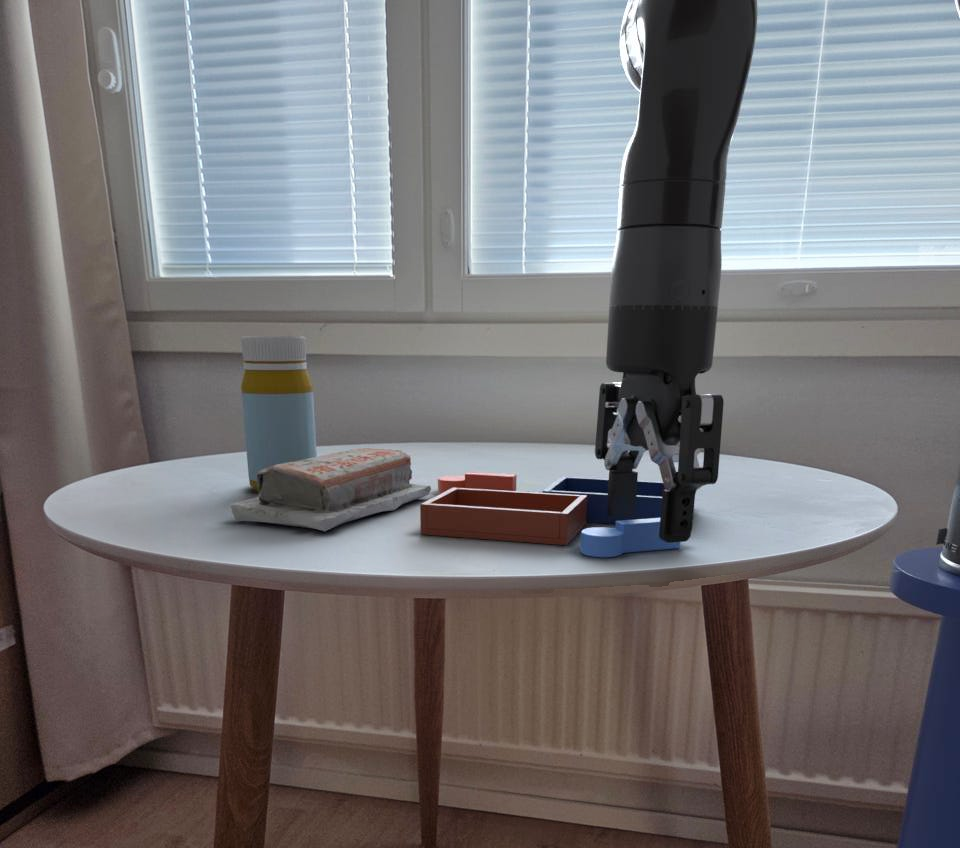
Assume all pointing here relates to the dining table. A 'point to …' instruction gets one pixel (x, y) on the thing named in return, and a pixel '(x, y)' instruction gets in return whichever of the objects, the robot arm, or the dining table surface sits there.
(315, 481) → the packaged product
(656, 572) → the dining table surface
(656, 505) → the blue tray
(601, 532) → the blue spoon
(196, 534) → the dining table surface
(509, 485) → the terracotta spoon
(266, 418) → the bottle
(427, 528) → the terracotta tray
